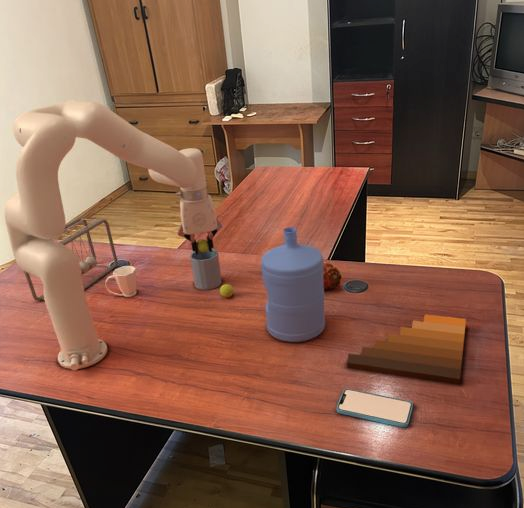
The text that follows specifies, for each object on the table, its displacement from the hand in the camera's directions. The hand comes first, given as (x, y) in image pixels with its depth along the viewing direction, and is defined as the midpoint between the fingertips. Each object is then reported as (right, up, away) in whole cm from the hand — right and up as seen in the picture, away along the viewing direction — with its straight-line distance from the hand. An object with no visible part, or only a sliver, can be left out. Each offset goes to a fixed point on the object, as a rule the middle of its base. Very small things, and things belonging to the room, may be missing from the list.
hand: (203, 251), depth 166 cm
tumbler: (+1, -9, +6) cm, 11 cm away
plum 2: (+8, -14, -3) cm, 16 cm away
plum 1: (0, 0, 0) cm, 0 cm away
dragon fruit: (+36, -11, -3) cm, 38 cm away
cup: (-25, -13, +4) cm, 28 cm away
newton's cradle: (-42, -9, +13) cm, 46 cm away
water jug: (+27, -23, -20) cm, 41 cm away
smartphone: (+42, -40, -50) cm, 77 cm away
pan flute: (+54, -28, -32) cm, 69 cm away
